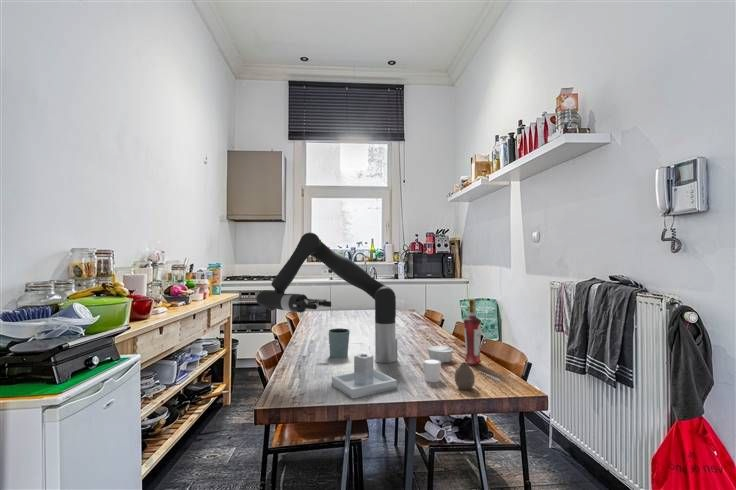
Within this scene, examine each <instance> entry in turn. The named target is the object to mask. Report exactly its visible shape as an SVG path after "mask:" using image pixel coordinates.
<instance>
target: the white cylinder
mask: <svg viewBox="0 0 736 490" xmlns="http://www.w3.org/2000/svg"><path fill="white" fill-rule="evenodd" d="M422 366H423V375H424V380H425V381H426V382H428V383H438V382H440V380H441V367H442V363H441V361H439V360H435V359H430V358H429V359H424V360H422Z"/></svg>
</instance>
